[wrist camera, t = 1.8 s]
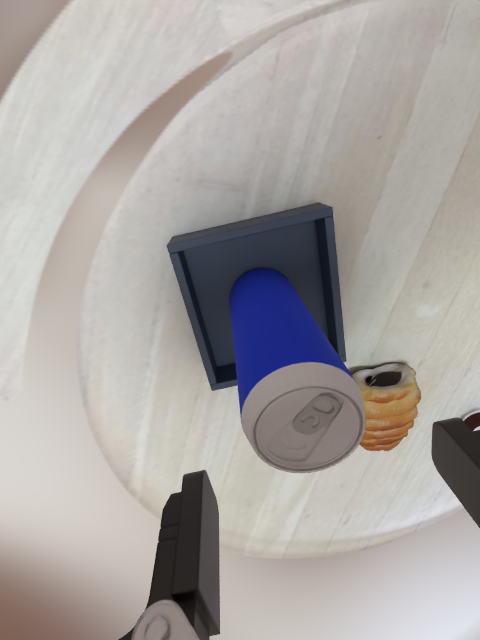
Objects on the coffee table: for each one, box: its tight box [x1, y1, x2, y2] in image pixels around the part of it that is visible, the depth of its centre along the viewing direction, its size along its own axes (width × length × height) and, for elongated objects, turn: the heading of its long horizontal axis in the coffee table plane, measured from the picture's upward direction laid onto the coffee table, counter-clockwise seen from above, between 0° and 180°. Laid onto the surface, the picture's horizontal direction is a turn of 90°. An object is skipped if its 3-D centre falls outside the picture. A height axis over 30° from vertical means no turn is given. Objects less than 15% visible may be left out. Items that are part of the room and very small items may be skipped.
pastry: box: [352, 363, 421, 451], centre depth 31 cm, size 9×7×4 cm
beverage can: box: [229, 268, 366, 473], centre depth 20 cm, size 5×5×15 cm
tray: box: [167, 203, 346, 391], centre depth 26 cm, size 12×11×3 cm
